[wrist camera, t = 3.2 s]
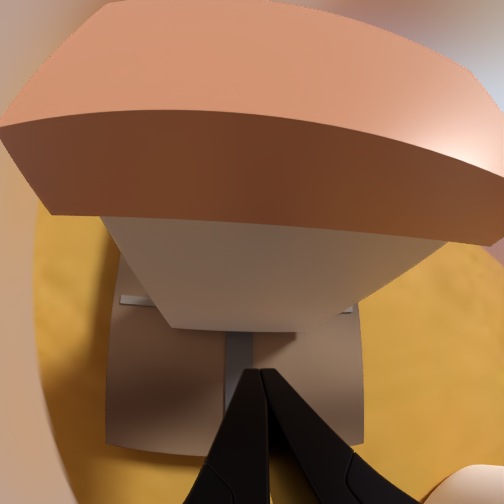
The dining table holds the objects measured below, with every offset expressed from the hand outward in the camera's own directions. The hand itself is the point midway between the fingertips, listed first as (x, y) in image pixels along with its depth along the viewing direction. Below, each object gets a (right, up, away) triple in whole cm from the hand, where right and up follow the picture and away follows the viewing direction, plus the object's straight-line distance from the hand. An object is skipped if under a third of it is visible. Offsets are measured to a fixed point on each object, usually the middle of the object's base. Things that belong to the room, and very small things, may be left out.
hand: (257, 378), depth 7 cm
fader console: (-1, +1, +8) cm, 8 cm away
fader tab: (-1, +1, +6) cm, 6 cm away
